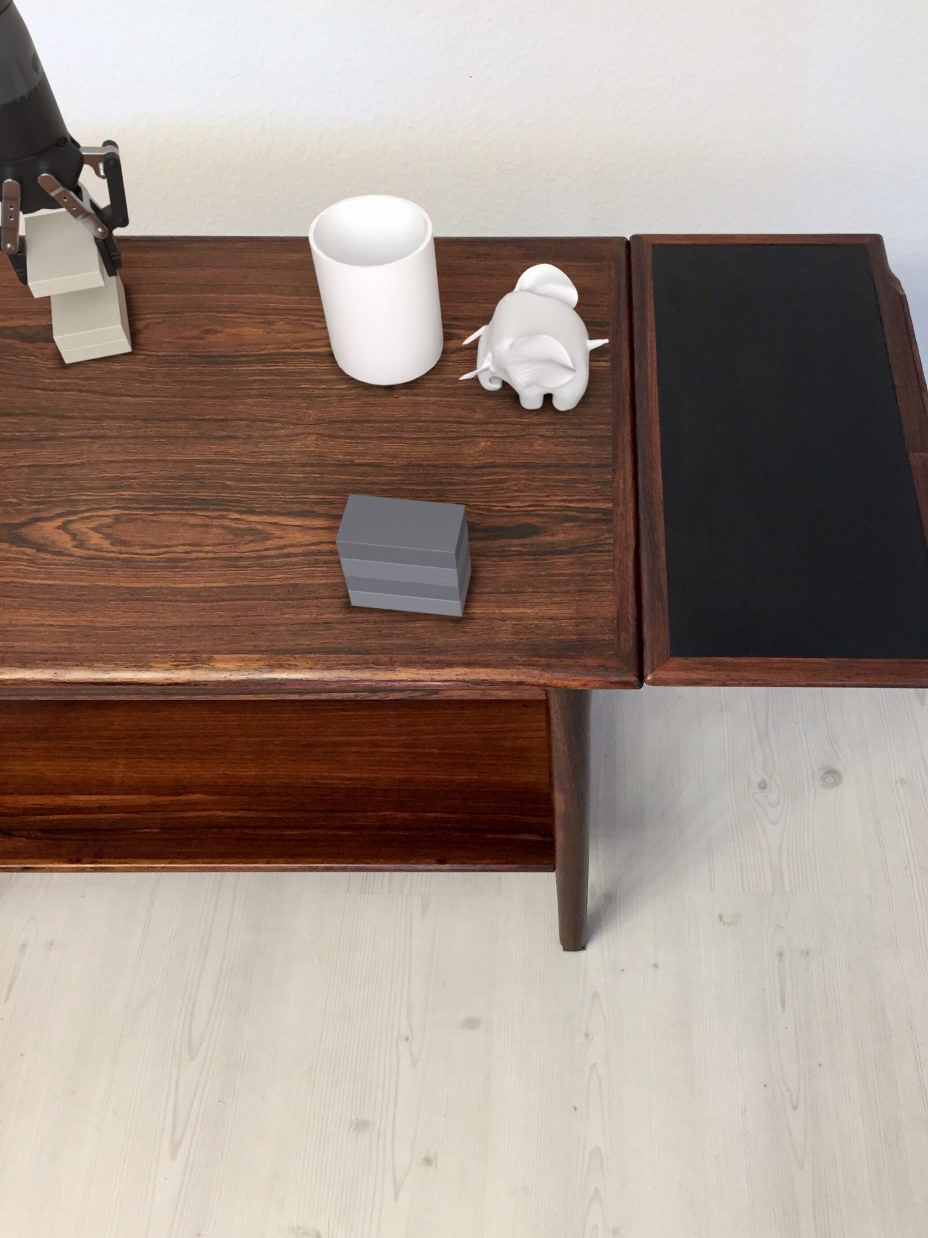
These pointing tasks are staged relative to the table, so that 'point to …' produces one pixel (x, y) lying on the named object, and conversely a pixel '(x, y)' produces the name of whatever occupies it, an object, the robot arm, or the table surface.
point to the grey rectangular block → (405, 554)
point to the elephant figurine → (536, 341)
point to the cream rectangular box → (91, 321)
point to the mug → (378, 287)
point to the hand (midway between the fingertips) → (75, 276)
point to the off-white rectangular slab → (61, 255)
